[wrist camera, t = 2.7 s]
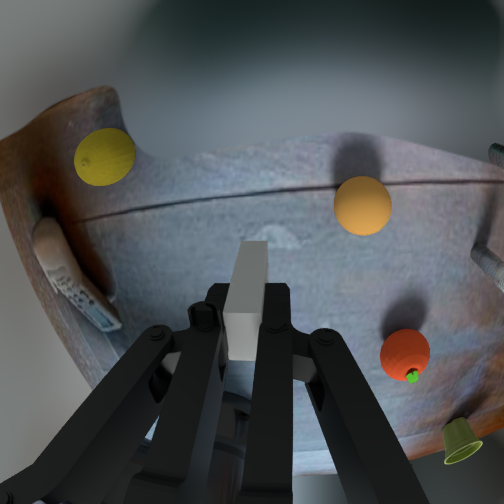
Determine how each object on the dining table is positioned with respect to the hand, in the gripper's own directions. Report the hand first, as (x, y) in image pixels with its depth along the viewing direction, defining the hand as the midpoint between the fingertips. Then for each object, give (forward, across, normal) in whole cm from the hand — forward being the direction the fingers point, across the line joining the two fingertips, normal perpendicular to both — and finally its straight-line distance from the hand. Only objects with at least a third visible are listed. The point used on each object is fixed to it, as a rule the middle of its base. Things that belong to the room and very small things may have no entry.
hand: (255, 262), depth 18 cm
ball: (+11, -9, 0) cm, 15 cm away
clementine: (+14, -18, +20) cm, 31 cm away
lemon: (+14, +15, -6) cm, 21 cm away
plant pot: (+14, -42, +50) cm, 67 cm away
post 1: (+14, -27, +7) cm, 32 cm away
